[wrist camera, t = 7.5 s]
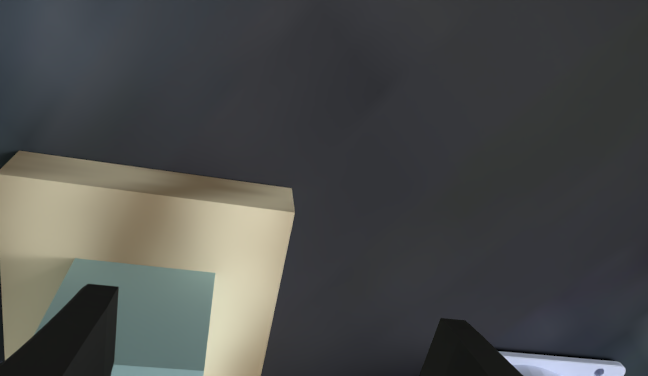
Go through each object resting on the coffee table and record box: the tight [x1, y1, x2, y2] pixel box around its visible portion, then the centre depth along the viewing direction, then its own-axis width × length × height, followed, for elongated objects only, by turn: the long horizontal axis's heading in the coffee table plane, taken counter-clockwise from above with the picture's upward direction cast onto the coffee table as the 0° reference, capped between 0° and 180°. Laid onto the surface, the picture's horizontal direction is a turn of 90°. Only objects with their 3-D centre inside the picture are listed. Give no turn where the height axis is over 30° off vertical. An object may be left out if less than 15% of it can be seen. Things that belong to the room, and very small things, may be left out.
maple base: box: [0, 151, 295, 376], centre depth 22 cm, size 10×10×2 cm
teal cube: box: [34, 258, 215, 376], centre depth 19 cm, size 5×5×5 cm
